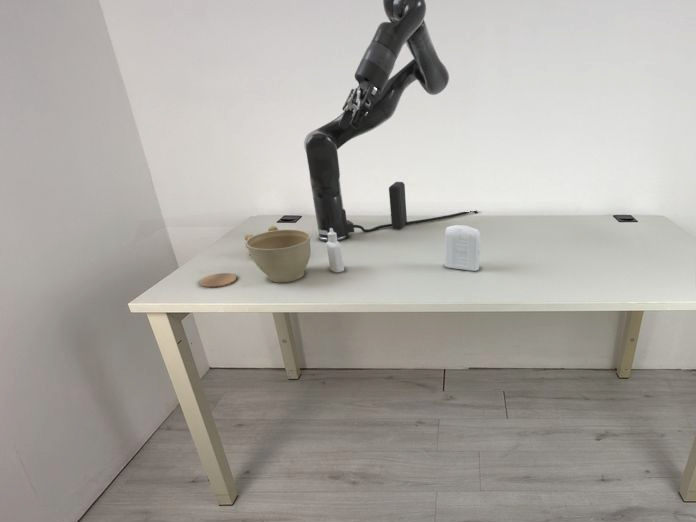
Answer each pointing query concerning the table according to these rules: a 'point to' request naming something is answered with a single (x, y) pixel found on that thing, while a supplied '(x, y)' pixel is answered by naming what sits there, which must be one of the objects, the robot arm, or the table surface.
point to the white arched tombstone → (462, 247)
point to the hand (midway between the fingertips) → (347, 127)
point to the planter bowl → (281, 253)
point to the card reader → (397, 205)
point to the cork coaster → (218, 280)
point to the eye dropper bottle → (334, 252)
